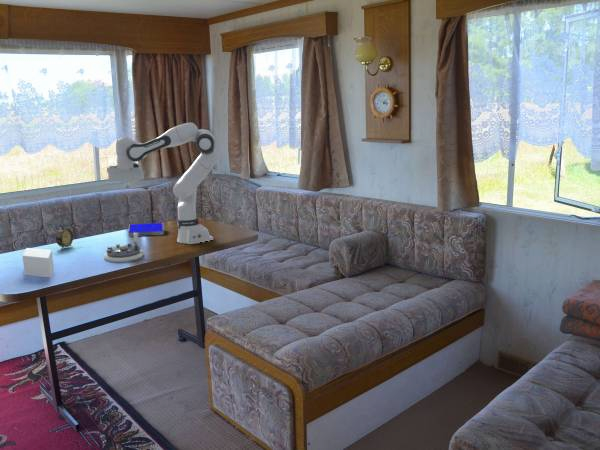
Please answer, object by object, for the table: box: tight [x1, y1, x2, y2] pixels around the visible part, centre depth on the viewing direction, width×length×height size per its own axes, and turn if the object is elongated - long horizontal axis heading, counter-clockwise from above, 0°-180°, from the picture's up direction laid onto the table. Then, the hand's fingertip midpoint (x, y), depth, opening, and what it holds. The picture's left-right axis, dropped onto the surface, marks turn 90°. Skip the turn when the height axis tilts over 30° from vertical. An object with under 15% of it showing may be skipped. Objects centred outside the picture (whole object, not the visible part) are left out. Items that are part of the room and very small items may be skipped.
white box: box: [21, 247, 55, 278], centre depth 281 cm, size 14×29×10 cm, turn 46°
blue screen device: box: [128, 222, 165, 237], centre depth 361 cm, size 22×14×7 cm, turn 101°
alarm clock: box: [55, 221, 74, 251], centre depth 325 cm, size 11×5×16 cm, turn 168°
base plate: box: [103, 244, 144, 263], centre depth 306 cm, size 21×21×6 cm
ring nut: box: [106, 233, 141, 257], centre depth 305 cm, size 18×18×11 cm
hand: (127, 188), depth 325 cm, fingers closed
